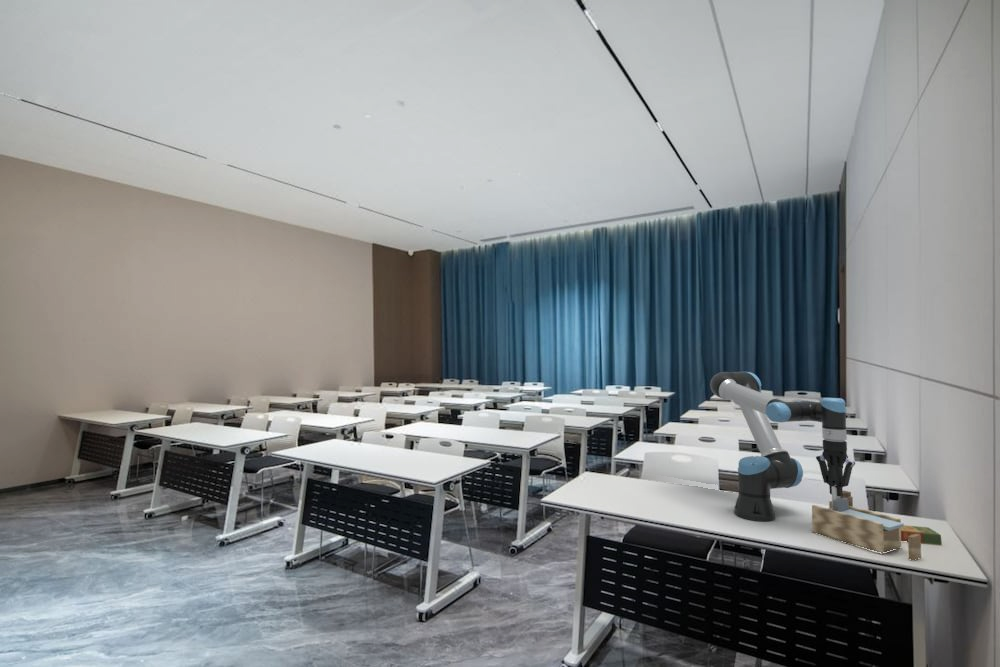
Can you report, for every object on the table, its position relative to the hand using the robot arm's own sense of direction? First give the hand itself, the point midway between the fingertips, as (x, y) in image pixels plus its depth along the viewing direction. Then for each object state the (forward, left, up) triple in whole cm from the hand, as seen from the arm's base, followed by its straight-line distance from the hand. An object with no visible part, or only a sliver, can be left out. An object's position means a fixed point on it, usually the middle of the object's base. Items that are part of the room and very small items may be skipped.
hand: (836, 504), depth 186 cm
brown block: (-3, +10, -11) cm, 15 cm away
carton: (+14, +19, -12) cm, 26 cm away
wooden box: (+10, 0, -11) cm, 15 cm away
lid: (+9, 0, -3) cm, 9 cm away
